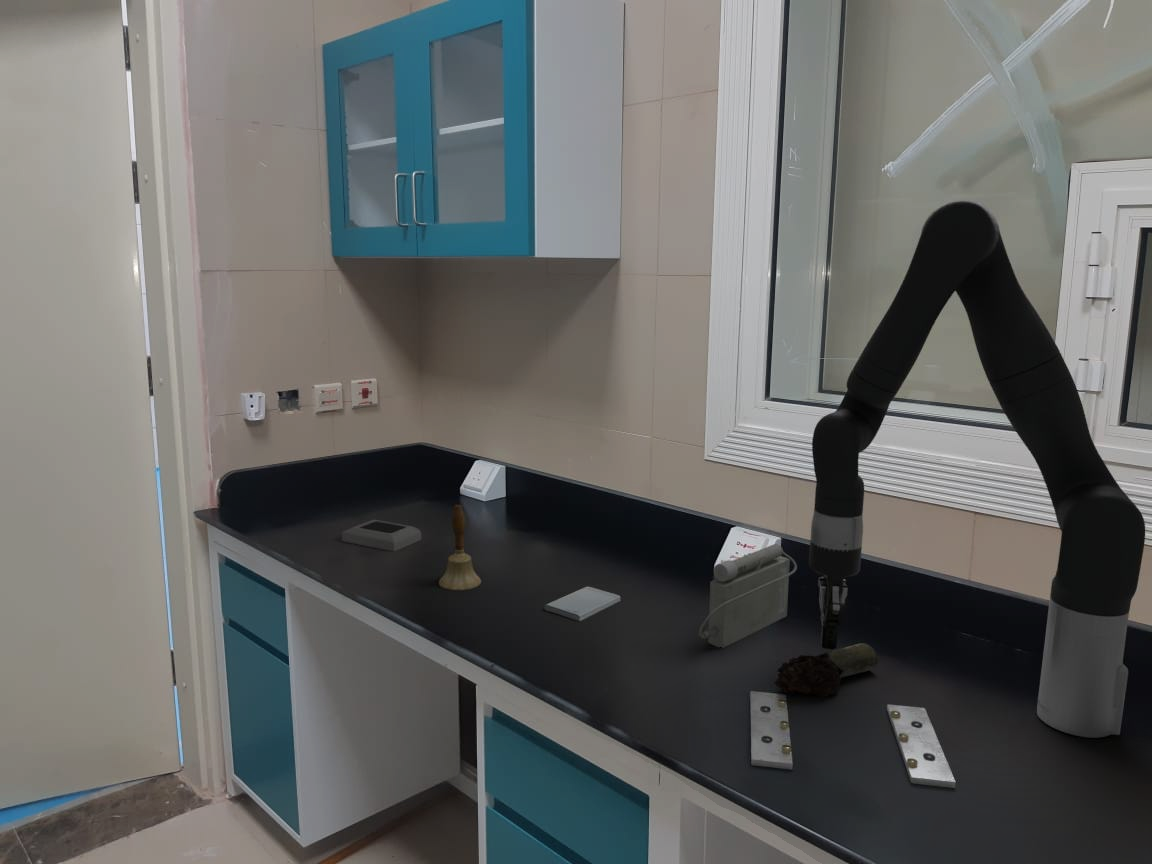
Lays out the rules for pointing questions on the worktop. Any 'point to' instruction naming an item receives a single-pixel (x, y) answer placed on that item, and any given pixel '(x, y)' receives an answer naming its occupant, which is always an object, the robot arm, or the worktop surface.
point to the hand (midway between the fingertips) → (828, 646)
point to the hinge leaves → (907, 723)
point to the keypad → (382, 535)
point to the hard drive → (582, 603)
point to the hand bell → (459, 559)
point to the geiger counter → (747, 595)
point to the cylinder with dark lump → (825, 670)
